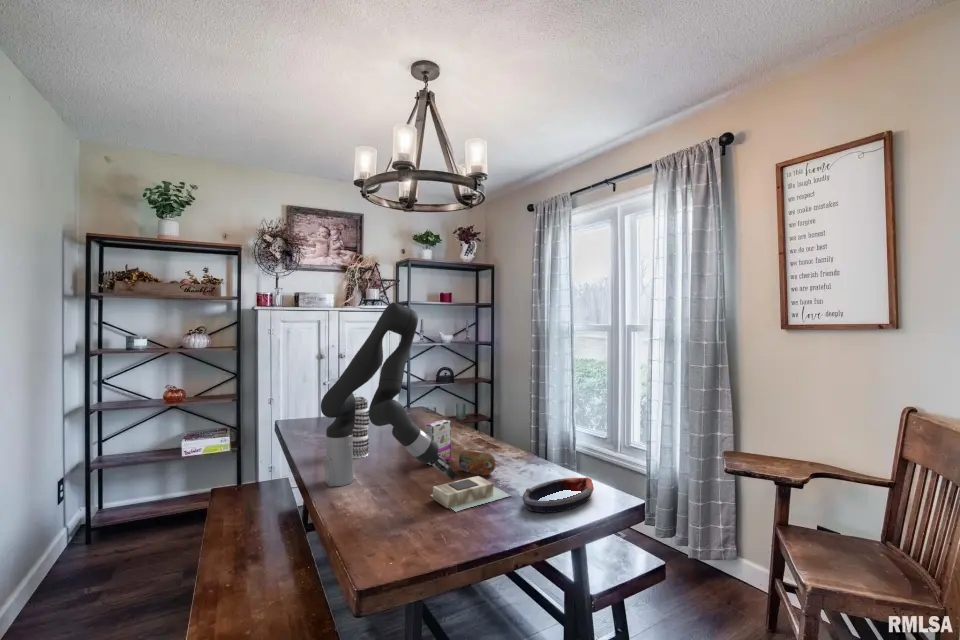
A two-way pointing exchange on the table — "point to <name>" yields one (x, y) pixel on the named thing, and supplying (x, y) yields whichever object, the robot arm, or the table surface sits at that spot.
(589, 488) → the dark oval ring
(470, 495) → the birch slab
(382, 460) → the table surface
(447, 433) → the candy bar box
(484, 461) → the tin
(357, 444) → the decorative candle
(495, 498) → the rubber mat
